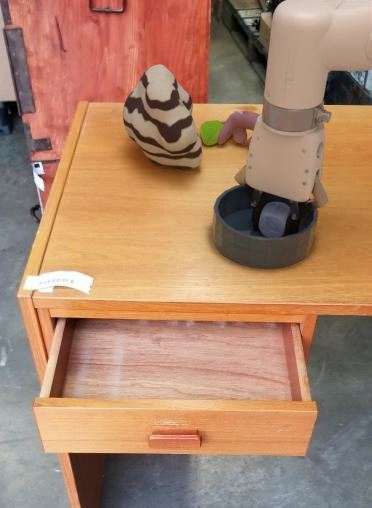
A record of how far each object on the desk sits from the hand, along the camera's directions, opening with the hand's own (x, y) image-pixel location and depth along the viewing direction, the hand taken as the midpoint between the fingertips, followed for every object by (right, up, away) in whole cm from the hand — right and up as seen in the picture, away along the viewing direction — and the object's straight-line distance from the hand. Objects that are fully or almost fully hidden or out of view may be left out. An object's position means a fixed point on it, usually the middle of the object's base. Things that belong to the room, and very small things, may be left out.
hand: (274, 230), depth 90 cm
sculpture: (-18, +17, +17) cm, 30 cm away
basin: (-2, -1, 0) cm, 2 cm away
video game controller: (-3, +20, +19) cm, 28 cm away
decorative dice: (0, 0, 0) cm, 0 cm away
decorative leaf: (-7, +24, +22) cm, 34 cm away
